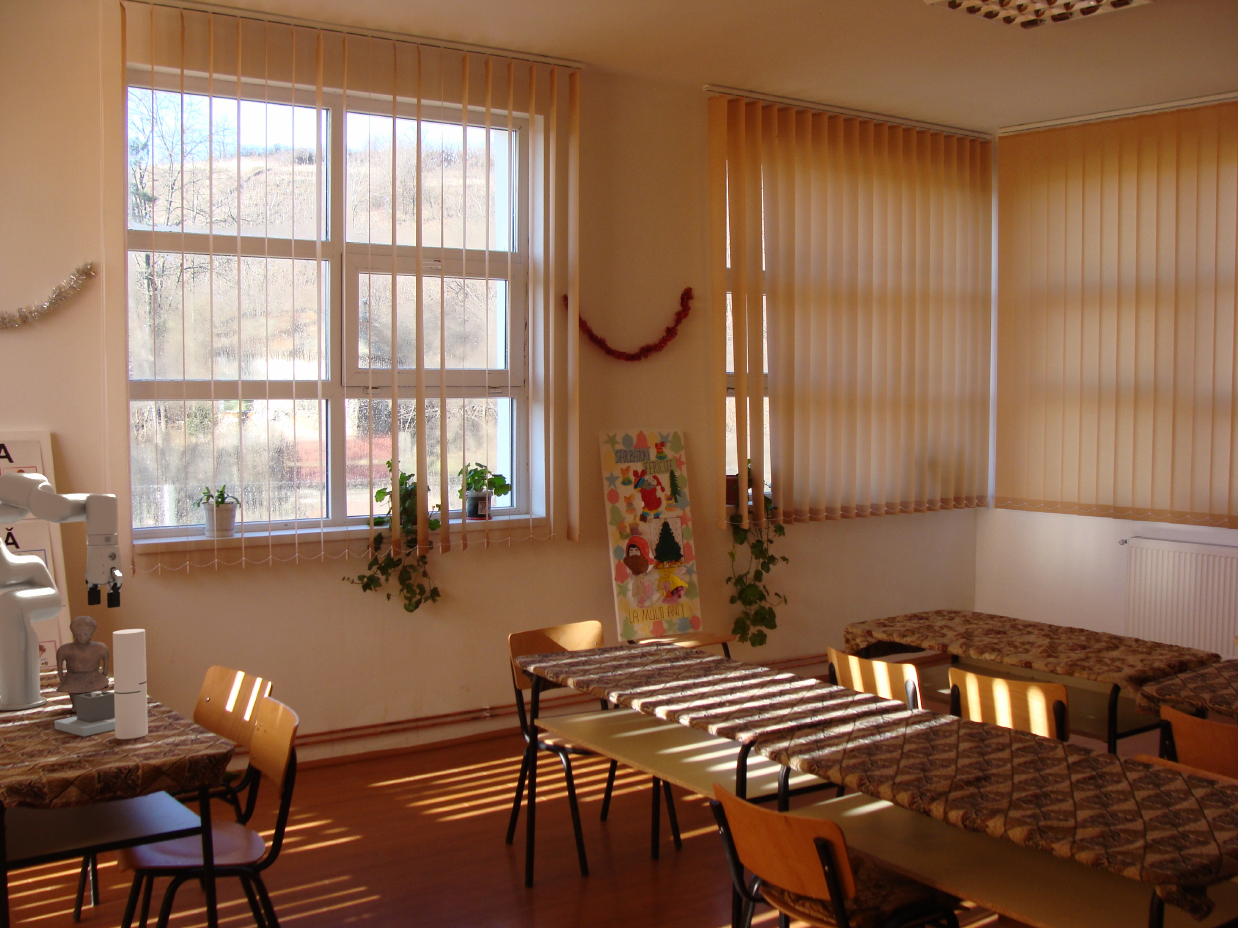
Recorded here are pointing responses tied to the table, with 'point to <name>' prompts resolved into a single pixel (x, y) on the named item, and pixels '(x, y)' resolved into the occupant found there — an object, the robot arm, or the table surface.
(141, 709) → the cylindrical container
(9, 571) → the robot arm
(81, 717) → the square tunnel housing
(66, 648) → the clay figurine
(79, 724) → the shaft base
